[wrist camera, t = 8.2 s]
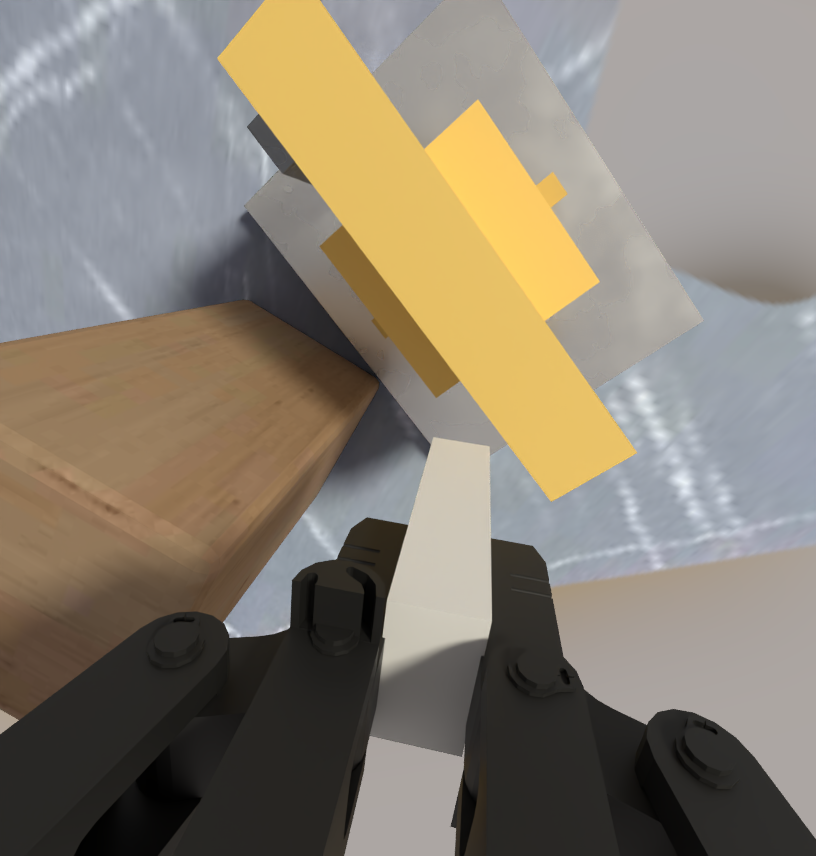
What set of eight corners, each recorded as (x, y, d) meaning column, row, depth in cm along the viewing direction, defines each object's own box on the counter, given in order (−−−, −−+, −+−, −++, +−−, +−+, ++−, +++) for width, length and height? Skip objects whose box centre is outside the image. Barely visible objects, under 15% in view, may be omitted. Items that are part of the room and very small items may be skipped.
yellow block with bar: (469, 438, 29) (451, 558, 17) (288, 203, 26) (129, 164, 15) (646, 321, 25) (770, 376, 14) (457, 35, 22) (419, -188, 11)
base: (253, 207, 29) (138, 185, 20) (479, -23, 24) (469, -203, 14) (457, 469, 32) (442, 556, 23) (695, 317, 27) (800, 351, 18)
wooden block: (315, 497, 35) (108, 779, 16) (191, 423, 34) (-167, 623, 16) (384, 379, 31) (216, 567, 12) (246, 295, 31) (-138, 358, 12)
